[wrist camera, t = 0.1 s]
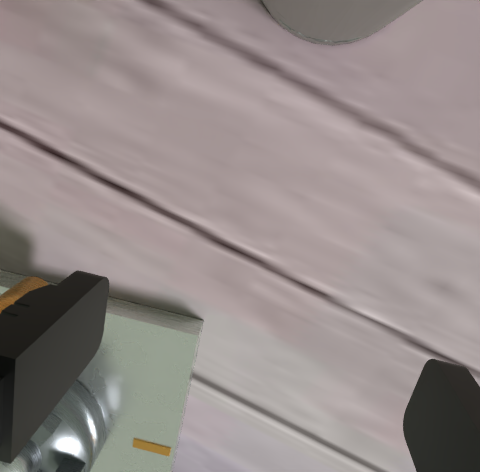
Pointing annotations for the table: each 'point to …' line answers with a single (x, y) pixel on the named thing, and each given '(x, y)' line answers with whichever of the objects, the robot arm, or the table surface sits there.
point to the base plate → (139, 382)
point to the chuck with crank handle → (59, 421)
